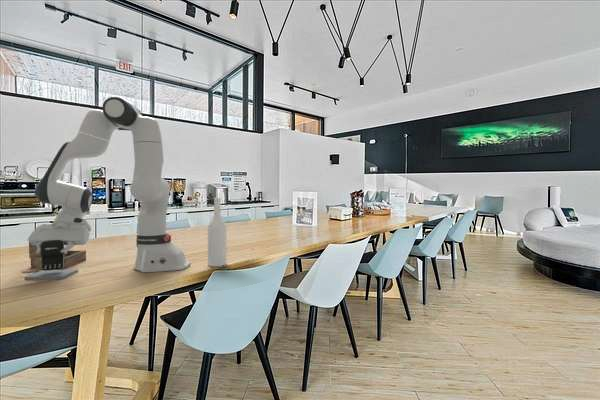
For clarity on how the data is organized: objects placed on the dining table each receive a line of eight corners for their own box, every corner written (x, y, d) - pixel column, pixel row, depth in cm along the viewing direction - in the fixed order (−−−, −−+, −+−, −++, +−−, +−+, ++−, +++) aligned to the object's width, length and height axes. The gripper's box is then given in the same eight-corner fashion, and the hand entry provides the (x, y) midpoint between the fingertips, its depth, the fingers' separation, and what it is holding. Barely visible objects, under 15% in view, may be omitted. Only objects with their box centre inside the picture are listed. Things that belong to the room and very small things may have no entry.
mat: (78, 271, 125) (77, 269, 125) (62, 278, 116) (62, 276, 116) (42, 272, 124) (42, 270, 124) (24, 279, 114) (24, 277, 114)
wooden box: (86, 259, 145) (85, 233, 144) (57, 271, 125) (57, 240, 124) (54, 260, 143) (53, 233, 143) (20, 272, 123) (19, 241, 123)
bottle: (212, 267, 134) (212, 198, 133) (204, 264, 140) (204, 197, 139) (229, 264, 139) (229, 197, 138) (221, 261, 145) (221, 197, 144)
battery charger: (40, 272, 116) (39, 241, 116) (42, 269, 120) (41, 240, 119) (63, 269, 120) (62, 240, 119) (64, 267, 123) (64, 238, 123)
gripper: (34, 219, 125) (16, 248, 115) (89, 219, 127) (75, 248, 118) (42, 229, 129) (25, 258, 120) (95, 229, 132) (82, 257, 122)
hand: (51, 253), depth 119 cm, fingers closed on battery charger, 7 cm apart
